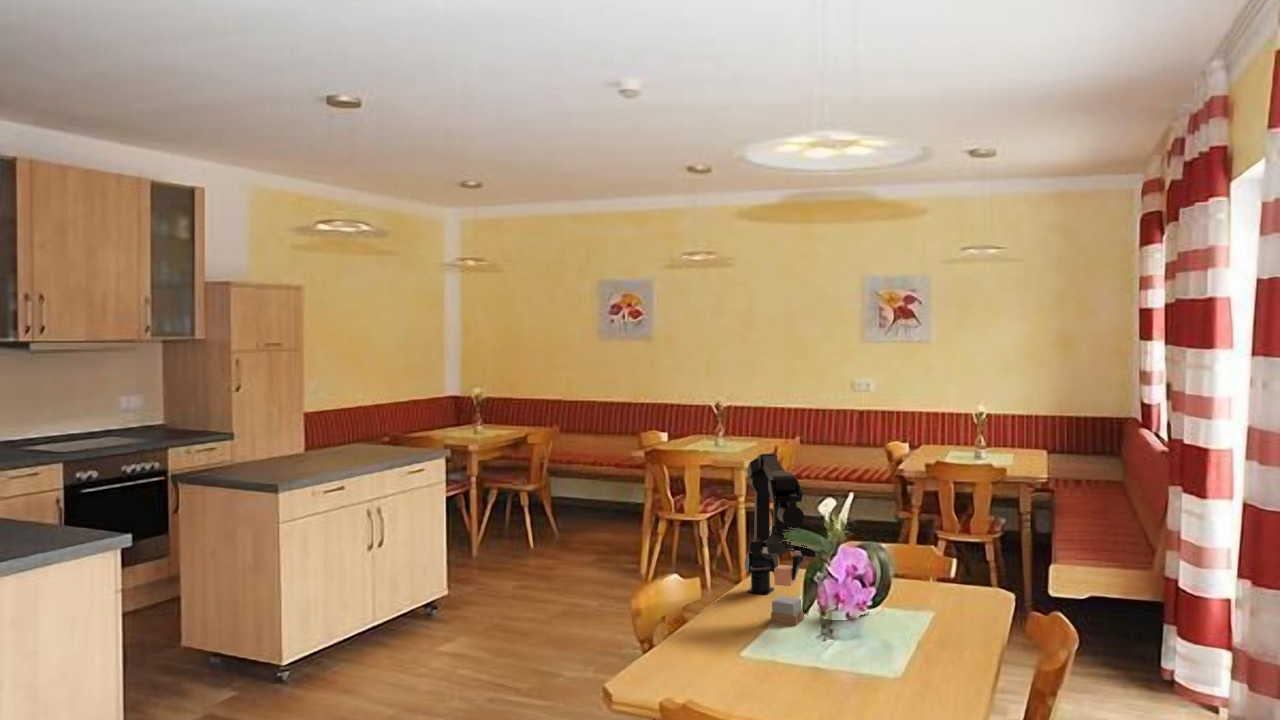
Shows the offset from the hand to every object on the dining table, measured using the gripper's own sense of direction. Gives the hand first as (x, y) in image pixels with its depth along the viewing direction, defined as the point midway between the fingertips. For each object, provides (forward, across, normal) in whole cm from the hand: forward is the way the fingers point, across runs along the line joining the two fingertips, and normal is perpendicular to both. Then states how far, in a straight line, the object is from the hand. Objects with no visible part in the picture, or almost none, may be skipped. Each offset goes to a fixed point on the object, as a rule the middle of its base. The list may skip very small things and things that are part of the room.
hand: (785, 579), depth 265 cm
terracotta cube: (+1, 0, 0) cm, 1 cm away
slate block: (+9, 0, 0) cm, 9 cm away
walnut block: (+12, 0, 0) cm, 12 cm away
